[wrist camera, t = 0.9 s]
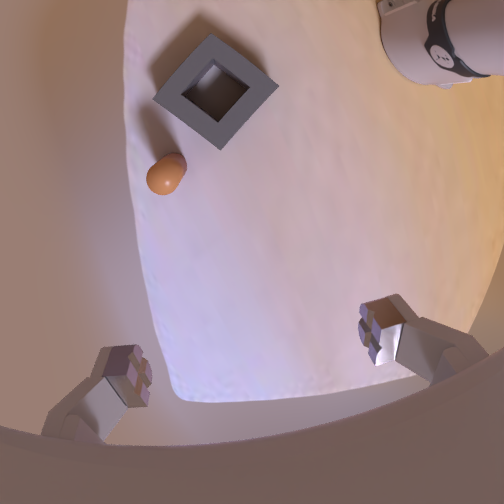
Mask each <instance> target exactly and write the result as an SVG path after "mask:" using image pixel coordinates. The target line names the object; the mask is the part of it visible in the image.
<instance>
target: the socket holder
mask: <svg viewBox="0 0 504 504" xmlns="http://www.w3.org/2000/svg"><path fill="white" fill-rule="evenodd" d="M213 65H215V66H217V67H218V68H219V69H221V70H222V71H223V72H225V73H226V74H227V75H229V76H230V77H231V78H233V79H234V80H235V81H236V82H238V83H239V84H240V85H242V86H243V87H244V88H245V89H247V91H246V92H245V93H244V94H243V95H242V96H241V98H240V99H239V100H238V101H237V102H236V103H235V104H234V105H233V106H232V107H231V109H230V110H229V111H228V112H227V113H226V114H225V115H224V116H223V118H222V119H221V120H220V121H219V122H218V121H217V120H216V119H215V118H213V117H212V116H211V115H209V114H208V113H207V112H206V111H204V110H203V109H202V108H200V107H199V106H198V105H196V104H195V103H194V102H192V101H191V100H190V99H188V98H187V97H186V95H187V94H188V93H189V92H190V91H191V90H192V88H193V87H194V86H195V85H196V84H197V83H198V82H199V80H200V79H201V78H202V77H203V76H204V75H205V74H206V73H207V72H208V71H209V69H210V68H211V67H212V66H213ZM278 87H279V85H278V84H276V83H275V82H274V81H273V80H272V79H271V78H269V77H268V76H267V75H266V74H265V73H263V72H262V71H261V70H260V69H258V68H257V67H256V66H255V65H253V64H252V63H251V62H250V61H248V60H247V59H246V58H244V57H243V56H242V55H241V54H239V53H238V52H237V51H235V50H234V49H233V48H231V47H230V46H228V45H227V44H226V43H224V42H223V41H222V40H220V39H219V38H217V37H216V36H214V35H213V34H212V33H211V34H210V35H209V36H208V37H207V38H206V39H205V40H204V41H203V42H202V43H201V44H200V45H199V46H198V47H197V48H196V49H195V50H194V51H193V52H192V53H191V54H190V55H189V56H188V58H187V59H186V60H185V61H184V62H183V63H182V64H181V65H180V67H179V68H178V69H177V70H176V71H175V72H174V73H173V75H172V76H171V77H170V78H169V79H168V81H167V82H166V83H165V84H164V85H163V87H162V88H161V89H160V90H159V92H158V93H157V94H156V95H155V97H154V98H153V100H154V101H156V102H157V103H158V104H160V105H161V106H163V107H164V108H165V109H167V110H168V111H169V112H171V113H172V114H173V115H175V116H176V117H177V118H179V119H180V120H182V121H183V122H184V123H186V124H187V125H188V126H189V127H191V128H192V129H193V130H195V131H196V132H197V133H199V134H200V135H201V136H203V137H204V138H205V139H206V140H208V141H209V142H210V143H212V144H213V145H214V146H215V147H217V148H218V149H219V150H221V149H222V148H223V147H224V146H225V145H226V144H227V142H228V141H229V140H230V139H231V138H232V137H233V136H234V134H235V133H236V132H237V131H238V130H239V129H240V128H241V127H242V125H243V124H244V123H245V122H246V121H247V120H248V119H249V118H250V117H251V115H252V114H253V113H254V112H255V111H256V110H257V109H258V108H259V107H260V106H261V105H262V104H263V103H264V101H265V100H266V99H267V98H268V97H269V96H270V95H271V94H272V93H273V92H274V91H275V90H276V89H277V88H278Z"/></svg>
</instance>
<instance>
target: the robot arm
mask: <svg viewBox="0 0 504 504" xmlns="http://www.w3.org/2000/svg"><path fill="white" fill-rule="evenodd" d="M389 4H390V5H391V6H389ZM377 6H378V10H379V13H380V16H381V20H382V23H381V37H382V42H383V46H384V49H385V51H386V53H387V55H388V57H389V59H390V60H391V62H392V63H393V65H394V66H395V67H396V68H397V70H398V71H399V72H400V73H402V74H403V75H404V76H405V77H407V78H408V79H410V80H411V81H413V82H416V83H419V84H424V85H429V84H433V85H437V86H438V87H440V88H443V89H450V88H451V87H452V85H453V84H454V83H465V82H471V81H472V78H482V77H489V76H491V75H500V76H504V0H382V1H380V2H378V4H377ZM359 313H360V315H361V316H362V318H361V319H360V321H359V324H358V331H359V336H360V339H361V342H362V343H363V345H364V346H366V347H368V348H369V352H368V354H369V356H370V358H371V360H372V361H373V363H374V365H375V366H377V365H380V364H384V363H387V362H390V361H393V360H395V361H396V362H398V363H400V364H401V365H403V366H404V367H406V368H408V369H409V370H411V371H413V372H414V373H416V374H417V375H419V376H421V377H422V378H424V379H426V380H427V381H429V382H430V386H429V387H428V388H426V389H423V390H421V391H419V392H416V393H414V394H411V395H409V396H407V397H404V398H401V399H399V400H397V401H394V402H391V403H389V404H386V405H383V406H380V407H377V408H374V409H372V410H369V411H366V412H363V413H360V414H357V415H354V416H350V417H347V418H343V419H340V420H336V421H333V422H329V423H325V424H321V425H318V426H314V427H309V428H305V429H301V430H296V431H292V432H286V433H282V434H276V435H271V436H265V437H259V438H252V439H245V440H238V441H229V442H220V443H209V444H197V445H177V446H130V445H112V444H111V445H110V444H106V443H105V442H104V440H105V438H106V437H107V436H108V435H109V433H110V432H111V431H112V429H113V428H114V427H115V425H116V424H117V423H118V421H119V420H120V419H121V417H122V416H123V415H124V413H125V412H126V411H127V409H128V408H132V407H133V408H134V407H147V406H148V401H149V395H150V392H149V391H148V389H147V388H148V387H149V386H150V385H151V383H152V370H151V367H150V364H149V362H148V360H146V359H145V358H143V357H142V354H143V351H142V349H141V347H140V346H139V345H124V346H114V347H103V348H101V349H100V352H99V355H98V357H97V360H96V362H95V365H94V368H93V370H92V373H91V376H90V377H87V378H86V379H84V381H82V382H81V383H80V384H79V385H78V386H77V387H75V388H74V389H73V390H72V391H71V392H70V393H69V394H68V395H67V396H65V397H64V398H63V399H62V400H61V401H60V402H59V403H58V404H57V405H56V406H55V407H53V408H52V409H51V410H50V411H49V412H48V415H47V418H46V421H45V423H44V426H43V429H42V432H41V435H36V434H32V433H27V432H23V431H18V430H14V429H10V428H7V427H3V426H0V504H504V347H503V348H501V349H499V350H498V351H496V352H495V353H493V354H491V355H490V356H489V354H488V353H487V352H486V351H485V350H484V348H483V347H482V346H481V345H480V344H479V343H478V342H477V340H476V339H475V338H474V337H473V336H471V335H469V334H466V333H464V332H461V331H458V330H456V329H453V328H450V327H448V326H445V325H442V324H440V323H437V322H435V321H432V320H429V319H427V318H424V317H421V318H419V317H418V316H417V315H416V313H415V312H414V311H413V310H412V309H411V308H410V306H409V305H408V304H407V303H406V302H405V301H404V300H403V298H402V297H401V296H400V295H399V294H393V295H390V296H387V297H385V298H381V299H377V300H373V301H370V302H366V303H362V304H361V306H360V311H359Z"/></svg>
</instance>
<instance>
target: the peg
mask: <svg viewBox="0 0 504 504" xmlns="http://www.w3.org/2000/svg"><path fill="white" fill-rule="evenodd" d="M186 170H187V163H186V160H185V159H184V157H183V156H181V155H180V154H177V153H170V154H167V155H166V156H164V157H163V158H162V159H161V160H159V161H158V162H157V163H155V164H154V165H153V166H152V167H151V168H150V169H149V171H148V173H147V177H146V181H147V185H148V187H149V188H150V190H151V191H153V192H154V193H156V194H158V195H167V194H170V193H172V192H173V191H174V190H175V189H176V188H177V186H178V184H179V183H180V181H181V179H182V178H183V176H184V174H185V173H186Z"/></svg>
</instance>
